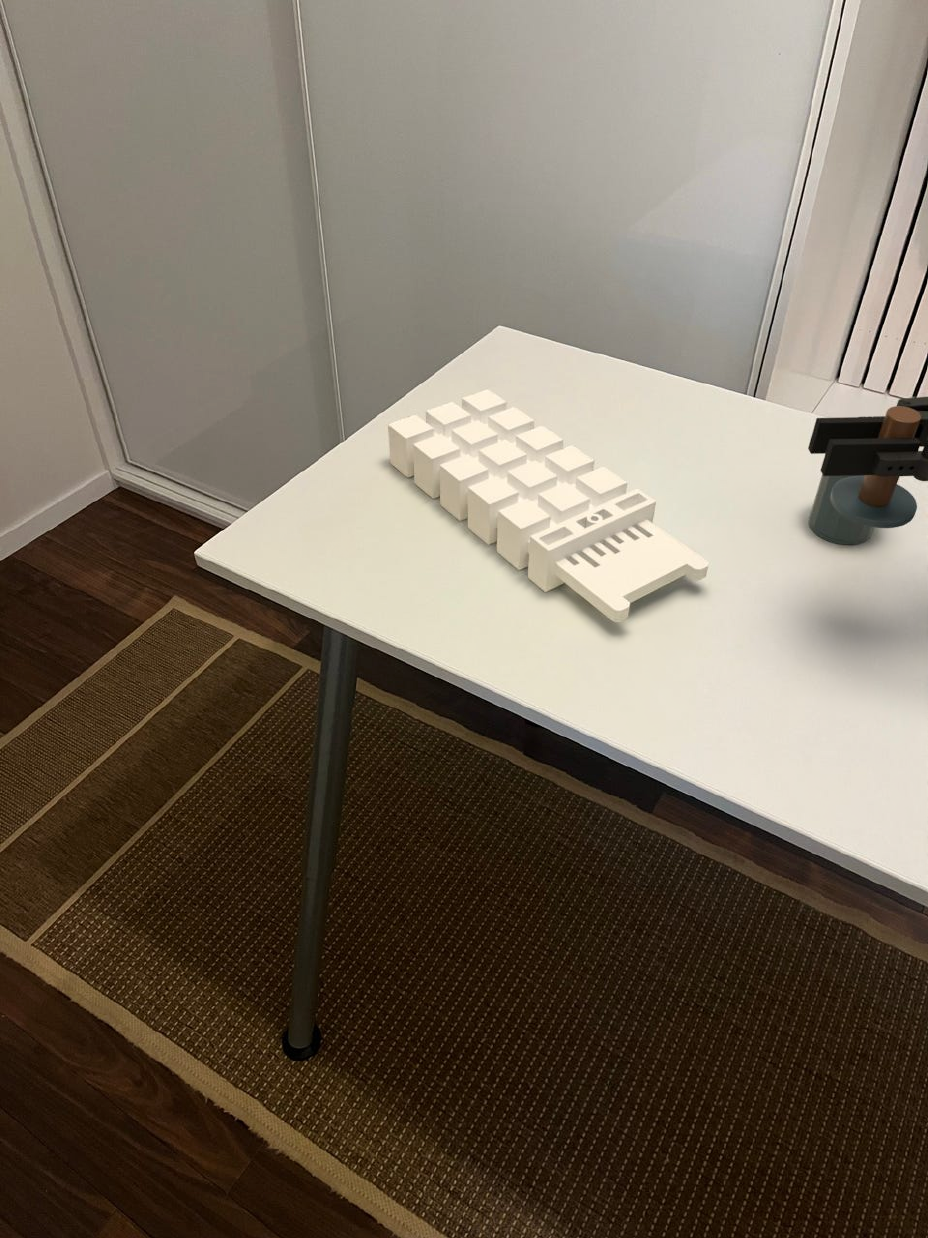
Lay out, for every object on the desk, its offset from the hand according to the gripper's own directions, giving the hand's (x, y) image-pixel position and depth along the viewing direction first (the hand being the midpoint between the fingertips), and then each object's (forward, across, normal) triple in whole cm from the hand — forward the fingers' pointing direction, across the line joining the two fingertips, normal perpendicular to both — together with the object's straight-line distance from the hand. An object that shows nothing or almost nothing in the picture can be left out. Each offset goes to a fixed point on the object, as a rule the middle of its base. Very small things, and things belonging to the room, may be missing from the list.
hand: (820, 446), depth 71 cm
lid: (-5, 0, -5) cm, 8 cm away
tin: (-11, +14, -18) cm, 26 cm away
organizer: (+19, +16, -18) cm, 31 cm away
